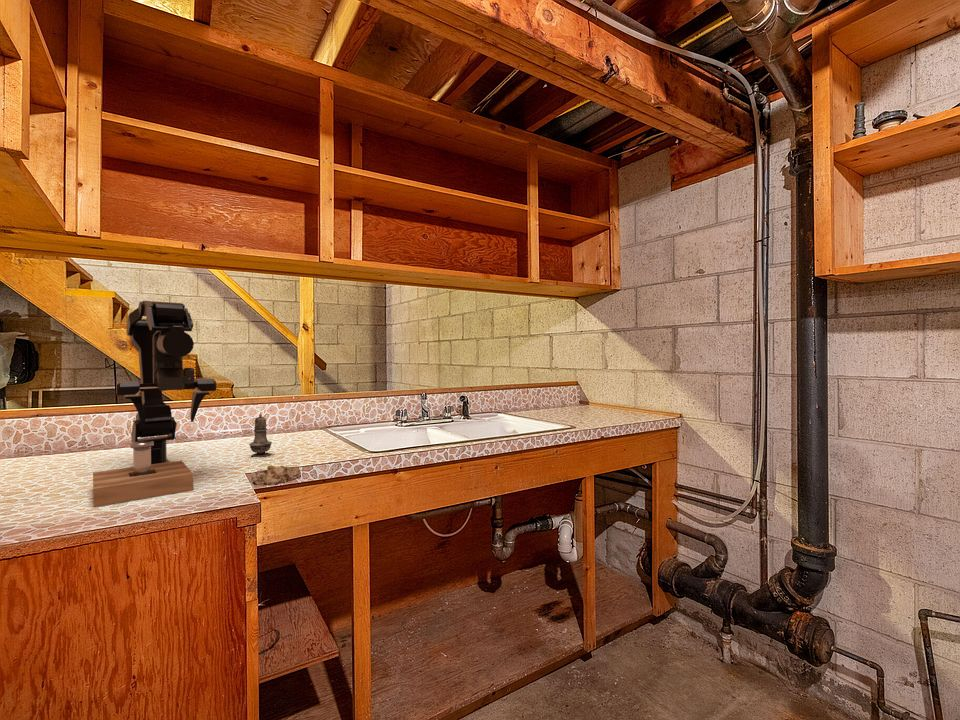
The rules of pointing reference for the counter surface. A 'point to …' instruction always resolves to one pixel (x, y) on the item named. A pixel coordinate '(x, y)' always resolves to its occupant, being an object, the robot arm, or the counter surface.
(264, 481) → the mineral rock
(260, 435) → the salt shaker
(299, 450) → the counter surface
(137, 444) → the pin
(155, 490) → the socket block
